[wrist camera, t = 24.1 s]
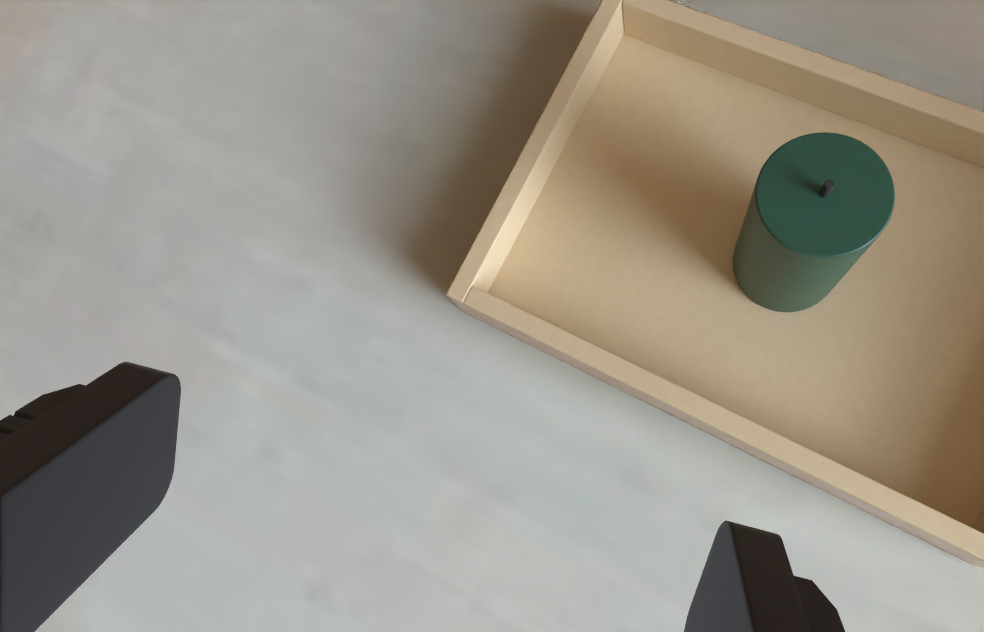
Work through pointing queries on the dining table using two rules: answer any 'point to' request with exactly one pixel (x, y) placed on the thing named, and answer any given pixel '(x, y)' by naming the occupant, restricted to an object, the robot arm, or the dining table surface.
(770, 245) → the green candle
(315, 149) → the dining table surface
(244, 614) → the dining table surface
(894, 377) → the wooden tray
